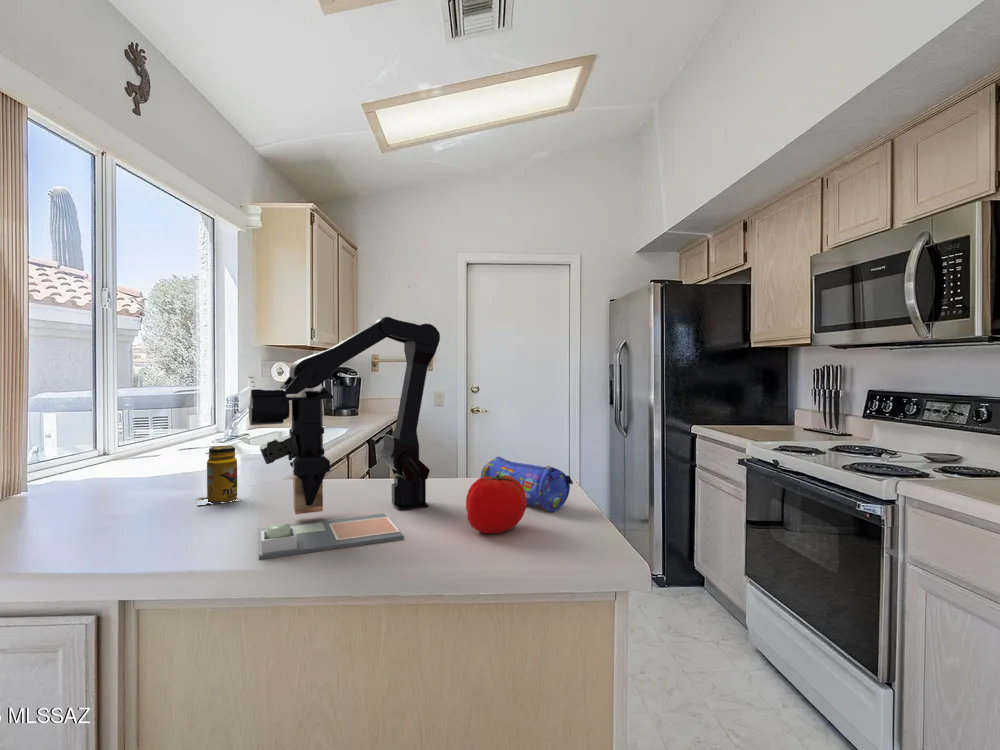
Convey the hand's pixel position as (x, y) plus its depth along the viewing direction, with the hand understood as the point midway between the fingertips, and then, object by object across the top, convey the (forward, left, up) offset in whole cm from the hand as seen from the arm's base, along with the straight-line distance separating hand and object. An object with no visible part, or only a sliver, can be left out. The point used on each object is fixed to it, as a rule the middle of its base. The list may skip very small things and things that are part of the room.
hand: (307, 501), depth 103 cm
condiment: (+17, -24, -4) cm, 30 cm away
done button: (+6, +15, -2) cm, 17 cm away
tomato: (-31, +21, -4) cm, 38 cm away
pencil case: (-45, +6, -4) cm, 45 cm away
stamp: (0, 0, -2) cm, 2 cm away
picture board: (-3, +12, -4) cm, 12 cm away
